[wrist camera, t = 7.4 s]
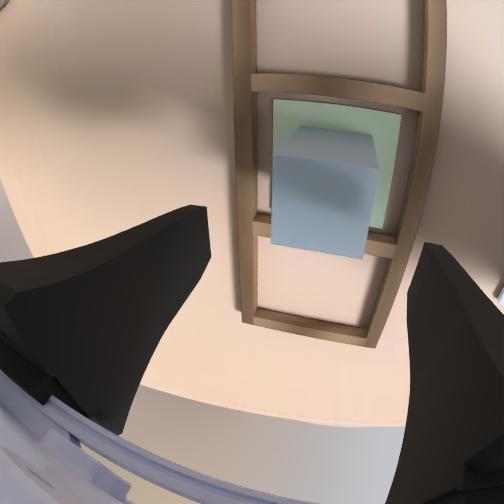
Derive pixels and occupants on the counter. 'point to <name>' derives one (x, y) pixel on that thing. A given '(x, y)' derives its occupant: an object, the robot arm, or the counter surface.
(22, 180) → the counter surface
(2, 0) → the figurine
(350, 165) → the block
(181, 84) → the counter surface
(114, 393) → the robot arm
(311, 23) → the counter surface
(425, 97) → the rack
